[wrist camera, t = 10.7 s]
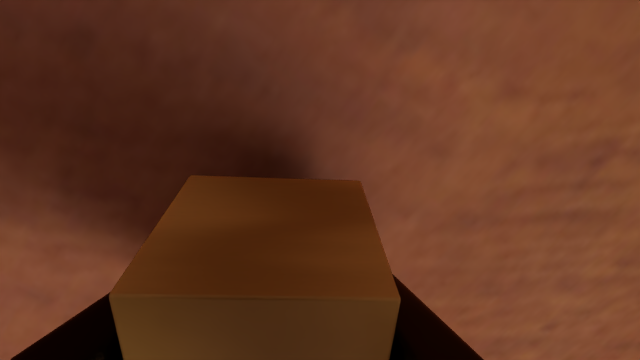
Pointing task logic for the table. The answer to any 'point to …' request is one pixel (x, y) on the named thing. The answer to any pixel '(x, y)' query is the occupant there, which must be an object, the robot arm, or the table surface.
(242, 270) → the block
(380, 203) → the table surface
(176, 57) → the table surface
